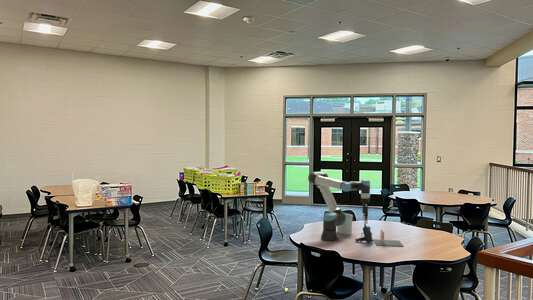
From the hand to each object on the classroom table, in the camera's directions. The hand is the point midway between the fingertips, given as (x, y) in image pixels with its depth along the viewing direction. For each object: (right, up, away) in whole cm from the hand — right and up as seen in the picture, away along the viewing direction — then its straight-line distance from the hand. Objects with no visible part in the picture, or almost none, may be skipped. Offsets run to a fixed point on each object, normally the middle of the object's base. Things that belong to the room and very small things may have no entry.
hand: (364, 222), depth 339 cm
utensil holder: (-11, -17, +35) cm, 41 cm away
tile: (+14, -17, -2) cm, 23 cm away
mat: (+19, -18, -2) cm, 27 cm away
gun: (0, -18, 0) cm, 18 cm away
